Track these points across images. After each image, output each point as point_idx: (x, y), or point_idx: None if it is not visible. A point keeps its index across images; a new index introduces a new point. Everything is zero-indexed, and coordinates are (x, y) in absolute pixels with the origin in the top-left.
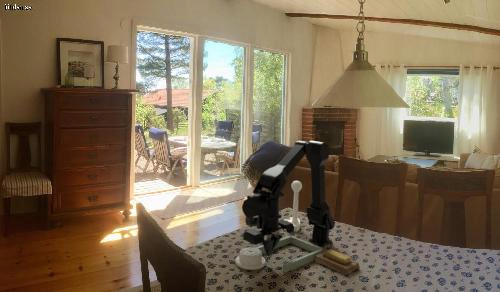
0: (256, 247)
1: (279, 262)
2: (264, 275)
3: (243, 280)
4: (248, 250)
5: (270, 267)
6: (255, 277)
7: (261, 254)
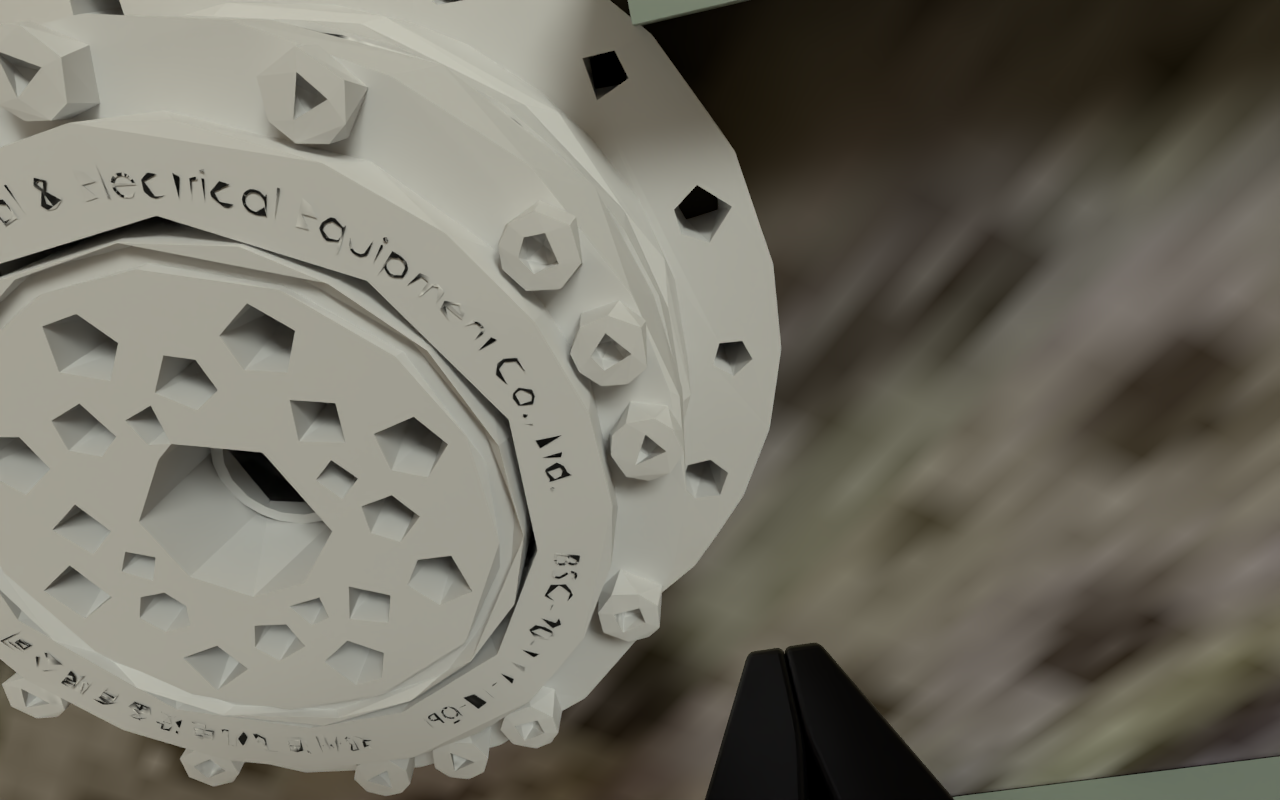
0: None
1: (1005, 573)
2: (445, 793)
3: (53, 784)
4: (164, 416)
5: (698, 651)
6: (276, 786)
7: (558, 712)
